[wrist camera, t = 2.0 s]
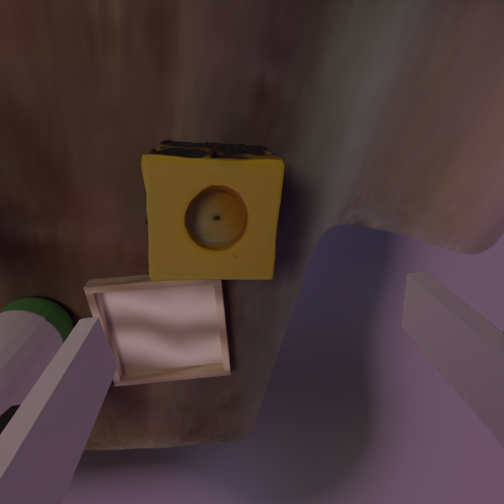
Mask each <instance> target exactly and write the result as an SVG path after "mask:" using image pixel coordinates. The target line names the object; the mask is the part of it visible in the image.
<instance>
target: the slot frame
mask: <svg viewBox="0 0 504 504" xmlns="http://www.w3.org/2000/svg"><path fill="white" fill-rule="evenodd" d="M83 288H84V291H85V294H86V297H87V300H88V303H89V306H90V310H91V313H92V316H93V317H99V319H100V321H101V324H102V327H103V329H104V332H105V335H106V337H107V340H108V342H109V345H110V348H111V350H112V353H113V356H114V358H115V361H116V363H117V366H118V367H117V370H116V372H115V374H114V377H113V381H114V384H115V386H125V385H135V384H145V383H155V382H165V381H175V380H184V379H194V378H204V377H214V376H224V375H231V374H230V357H229V347H228V338H227V328H226V318H225V308H224V298H223V289H222V280H185V281H152V280H150V277H149V274H146V275H134V276H122V277H110V278H97V279H90V280H89V281H88V282H87V283H86V285H85V286H84V287H83Z"/></svg>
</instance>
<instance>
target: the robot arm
mask: <svg viewBox="0 0 504 504" xmlns="http://www.w3.org/2000/svg"><path fill="white" fill-rule="evenodd" d="M401 326H402V327H403V328H404V329H405V330H406V332H407V333H408V334H409V335H410V336H411V338H412V339H413V340H414V341H415V342H416V343H417V345H418V346H419V347H420V348H421V349H422V351H423V352H424V353H425V354H426V355H427V357H428V358H429V359H430V360H431V361H432V362H433V364H434V365H435V366H436V367H437V368H438V370H439V371H440V372H441V373H442V374H443V375H444V376H445V378H446V379H447V380H448V381H449V383H450V384H451V385H452V386H453V387H454V389H455V390H456V391H457V392H458V393H459V394H460V396H461V397H462V398H463V399H464V400H465V402H466V403H467V404H468V405H469V406H470V407H471V409H472V410H473V411H474V412H475V413H476V415H477V416H478V417H479V418H480V419H481V421H482V422H483V423H484V424H485V425H486V426H487V428H488V429H489V430H490V431H491V432H492V434H493V435H494V436H495V437H496V438H497V440H498V441H499V442H500V443H501V444H502V445H503V447H504V332H501V331H500V330H499V329H498V328H496V327H495V326H494V325H493V324H492V323H490V322H489V321H488V320H486V319H485V318H484V317H482V316H481V315H480V314H479V313H477V312H476V311H475V310H473V309H472V308H471V307H470V306H468V305H467V304H466V303H464V302H463V301H462V300H461V299H459V298H458V297H457V296H456V295H454V294H453V293H452V292H451V291H449V290H448V289H447V288H445V287H444V286H443V285H441V284H440V283H439V282H438V281H436V280H435V279H434V278H432V277H431V276H430V275H429V274H427V273H426V272H425V271H422V272H415V273H408V274H407V279H406V288H405V297H404V306H403V314H402V323H401ZM117 367H118V366H117V363H116V361H115V358H114V356H113V353H112V350H111V348H110V345H109V342H108V340H107V337H106V335H105V332H104V329H103V327H102V324H101V321H100V319H99V317H92V318H85V319H80V320H79V321H78V323H77V324H76V326H75V327H74V329H73V330H72V332H71V333H70V334H69V336H68V337H67V339H66V340H65V342H64V343H63V345H62V346H61V347H60V349H59V350H58V352H57V353H56V355H55V356H54V358H53V359H52V361H51V362H50V363H49V365H48V366H47V368H46V369H45V371H44V372H43V374H42V375H41V376H40V378H39V379H38V381H37V382H36V384H35V385H34V387H33V388H32V390H31V391H30V392H29V394H28V395H27V397H26V398H25V400H24V401H23V403H22V404H21V405H14V406H11V407H10V408H9V409H8V410H6V411H5V412H4V413H3V414H2V415H1V416H0V504H61V503H62V501H63V498H64V496H65V493H66V491H67V489H68V486H69V484H70V481H71V479H72V476H73V474H74V472H75V469H76V467H77V464H78V462H79V459H80V457H81V455H82V452H83V450H84V447H85V445H86V442H87V440H88V438H89V435H90V433H91V430H92V428H93V425H94V423H95V421H96V418H97V416H98V413H99V411H100V408H101V406H102V404H103V401H104V399H105V396H106V394H107V391H108V389H109V387H110V384H111V382H112V379H113V377H114V374H115V372H116V370H117Z"/></svg>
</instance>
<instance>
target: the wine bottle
mask: <svg viewBox="0 0 504 504" xmlns="http://www.w3.org/2000/svg"><path fill="white" fill-rule="evenodd" d="M72 330H73V322H72V320H71V317H70V315H69V314H68V313H67V311H66V310H65V309H64V308H63V307H61V306H60V305H59V304H57V303H55V302H53V301H51V300H49V299H45V298H41V297H26V298H20V299H18V300H16V301H13V302H11V303H9V304H8V305H7V306H6V307H4V308H3V309H2V310H1V311H0V416H1V415H2V414H3V413H4V412H5V411H6V410H8V409H9V408H10V407H11V406H14V405H21V404H22V403H23V401H24V400H25V398H26V397H27V395H28V394H29V392H30V391H31V390H32V388H33V387H34V385H35V384H36V382H37V381H38V379H39V378H40V376H41V375H42V374H43V372H44V371H45V369H46V368H47V366H48V365H49V363H50V362H51V361H52V359H53V358H54V356H55V355H56V353H57V352H58V350H59V349H60V347H61V346H62V345H63V343H64V342H65V340H66V339H67V337H68V336H69V334H70V333H71V332H72Z"/></svg>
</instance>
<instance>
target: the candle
mask: <svg viewBox="0 0 504 504" xmlns="http://www.w3.org/2000/svg"><path fill="white" fill-rule="evenodd" d="M141 167H142V173H143V179H144V183H145V188H146V193H147V202H146V207H147V217H148V218H147V220H146V224H147V226H148V235H149V252H148V257H149V277H150V280H152V281H185V280H269V279H273V271H274V262H275V253H276V232H277V222H278V215H279V209H280V203H281V193H282V185H283V176H284V167H285V166H284V163H283V160H282V159H281V158H280V157H278V156H276V155H274V154H272V153H270V150H269V149H268V148H266V147H263V146H251V145H249V146H247V145H245V144H237V145H233V144H221V143H208V142H206V143H204V144H203V143H191V142H175V141H172V140H166V141H163V142H160V145H158V147H157V149H156V150H155V149H154V148H153V149H152V151H151V153H150V154H143V155H142V161H141Z"/></svg>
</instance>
